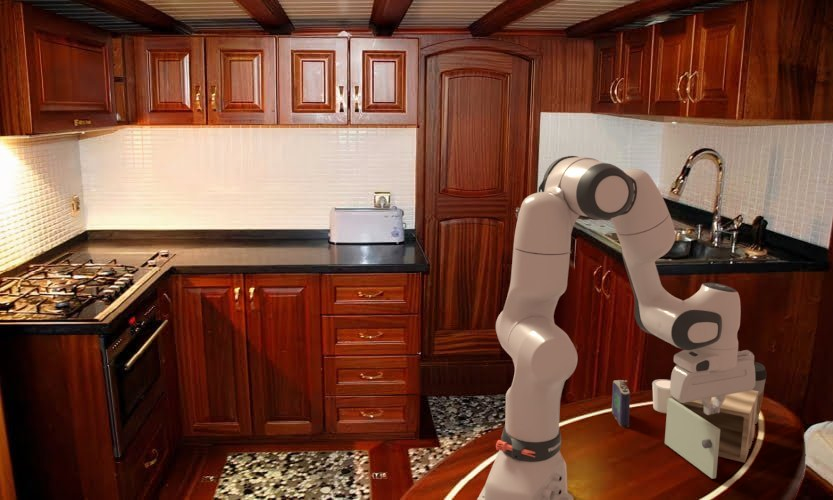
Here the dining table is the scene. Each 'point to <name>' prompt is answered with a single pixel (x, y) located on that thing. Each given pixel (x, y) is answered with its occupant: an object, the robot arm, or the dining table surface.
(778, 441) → the dining table surface
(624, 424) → the flask
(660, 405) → the white cylinder
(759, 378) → the coffee cup
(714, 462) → the side door
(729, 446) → the oak cabinet
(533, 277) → the robot arm
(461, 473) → the dining table surface
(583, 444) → the dining table surface
